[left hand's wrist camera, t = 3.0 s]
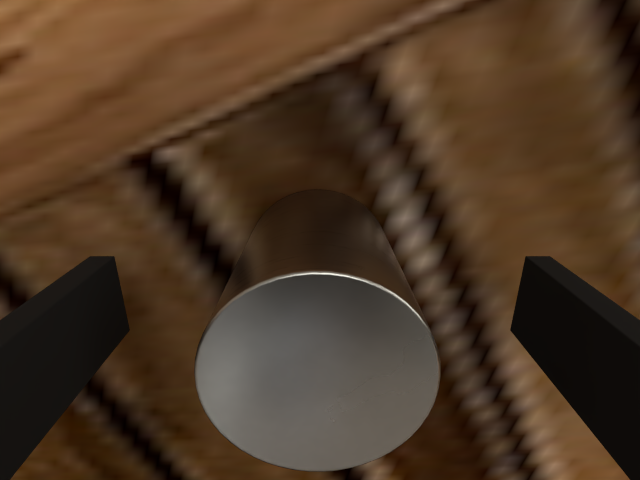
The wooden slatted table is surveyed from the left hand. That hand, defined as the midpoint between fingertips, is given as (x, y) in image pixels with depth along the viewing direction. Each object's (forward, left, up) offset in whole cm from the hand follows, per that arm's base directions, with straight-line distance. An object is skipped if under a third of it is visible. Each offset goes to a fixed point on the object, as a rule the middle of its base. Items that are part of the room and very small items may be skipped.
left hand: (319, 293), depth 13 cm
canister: (0, 0, -3) cm, 3 cm away
